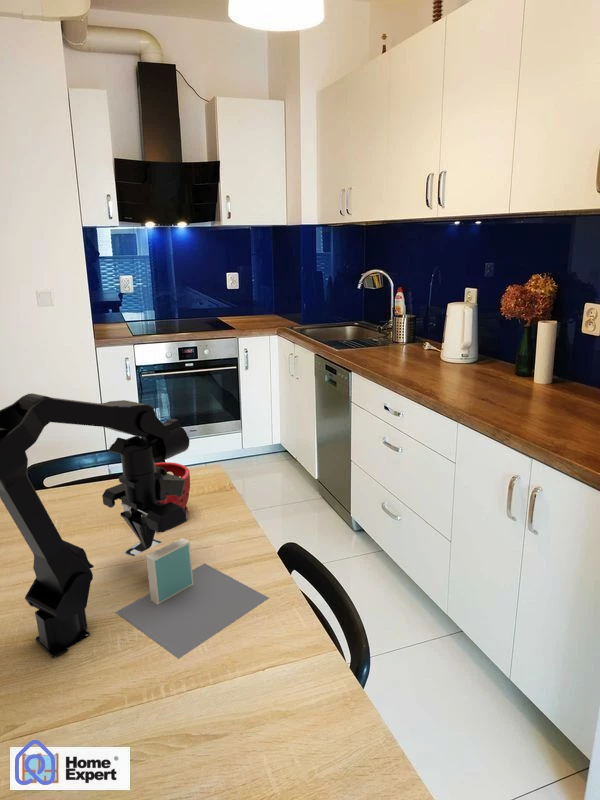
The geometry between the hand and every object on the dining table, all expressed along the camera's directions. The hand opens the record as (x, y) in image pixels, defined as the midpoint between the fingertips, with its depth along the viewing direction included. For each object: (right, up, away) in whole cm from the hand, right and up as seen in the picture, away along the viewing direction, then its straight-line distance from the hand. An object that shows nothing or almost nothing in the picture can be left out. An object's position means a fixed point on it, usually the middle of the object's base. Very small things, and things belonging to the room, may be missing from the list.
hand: (147, 547), depth 108 cm
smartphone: (0, -5, +11) cm, 12 cm away
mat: (+10, -9, -6) cm, 15 cm away
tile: (+5, -8, -2) cm, 10 cm away
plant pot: (-3, 0, +27) cm, 27 cm away
